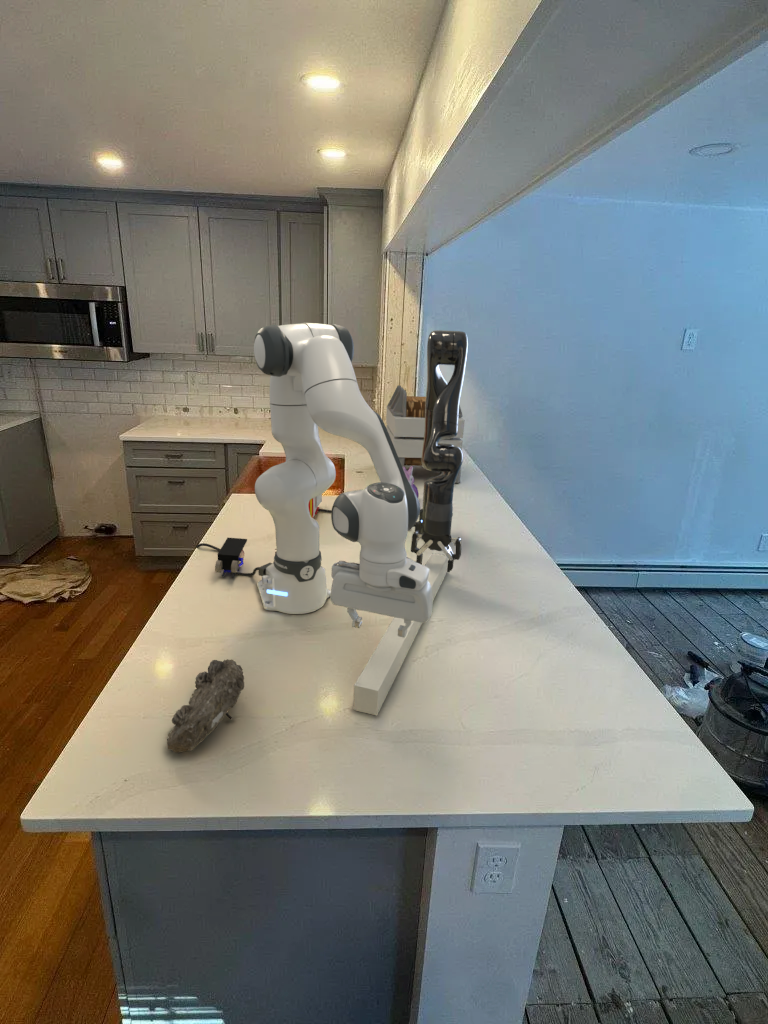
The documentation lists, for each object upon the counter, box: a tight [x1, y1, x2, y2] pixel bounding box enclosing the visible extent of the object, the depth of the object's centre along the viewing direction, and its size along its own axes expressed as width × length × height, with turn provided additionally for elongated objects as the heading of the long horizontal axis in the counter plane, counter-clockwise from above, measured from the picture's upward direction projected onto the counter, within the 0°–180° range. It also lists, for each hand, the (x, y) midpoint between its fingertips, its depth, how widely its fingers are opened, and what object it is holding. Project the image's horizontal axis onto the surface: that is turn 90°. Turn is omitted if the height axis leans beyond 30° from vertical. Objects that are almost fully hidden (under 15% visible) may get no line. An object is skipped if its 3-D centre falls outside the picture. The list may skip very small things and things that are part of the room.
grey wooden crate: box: [385, 384, 465, 484], centre depth 268 cm, size 34×33×41 cm
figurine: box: [402, 466, 420, 498], centre depth 230 cm, size 9×10×15 cm
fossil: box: [166, 658, 245, 754], centre depth 106 cm, size 22×10×15 cm
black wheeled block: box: [214, 537, 248, 578], centre depth 166 cm, size 7×8×15 cm
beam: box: [352, 552, 449, 717], centre depth 141 cm, size 68×5×6 cm, turn 163°
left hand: (379, 630), depth 113 cm, fingers open, 8 cm apart
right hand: (434, 568), depth 164 cm, fingers open, 8 cm apart
